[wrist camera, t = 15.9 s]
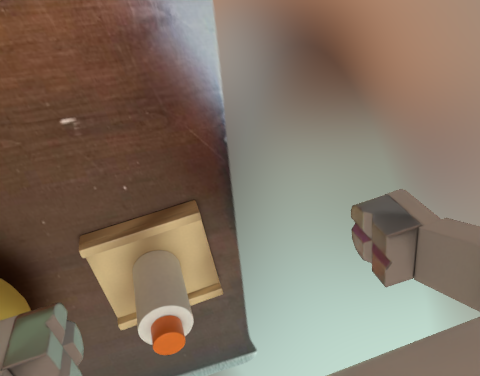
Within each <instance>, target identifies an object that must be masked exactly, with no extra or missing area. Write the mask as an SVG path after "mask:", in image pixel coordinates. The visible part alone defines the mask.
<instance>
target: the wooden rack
mask: <svg viewBox="0 0 480 376" xmlns="http://www.w3.org/2000/svg"><path fill="white" fill-rule="evenodd" d="M157 250H163V251H168V252H170V253H172V254H174V255H175V256H176V257H177V258H178V260H179V263H180V267H181V271H182V275H183V279H184V283H185V287H186V291H187V295H188V299H189V303H190V306H191V305H194V304H197V303H199V302H202V301H205V300H208V299H211V298H213V297H216V296H219V295H222V294H223V291H222V288H221V285H220V282H219V279H218V275H217V272H216V268H215V265H214V261H213V258H212V255H211V251H210V248H209V244H208V241H207V237H206V234H205V230H204V227H203V224H202V220H201V215H200V212H199V209H198V207H197V204H196V201H195V200H193V201H189V202H186V203H183V204H180V205H177V206H174V207H170V208H167V209H164V210H161V211H158V212H155V213H151V214H148V215H145V216H142V217H139V218H136V219H132V220H129V221H126V222H123V223H120V224H117V225H113V226H110V227H107V228H104V229H101V230H98V231H94V232H91V233H88V234H85V235H82V236H80V240H79V253H80V255H81V257H82V258H86V259H87V261H88V263H89V265H90V267H91V268H92V270H93V272H94V274H95V276H96V278H97V280H98V282H99V284H100V286H101V287H102V289H103V291H104V293H105V295H106V297H107V299H108V301H109V303H110V304H111V306H112V308H113V310H114V312H115V314H116V316H117V318H118V326H119V328H120V329H121V330H124V329H127V328H130V327H132V326H135V325H137V315H136V304H135V294H134V283H133V266H134V264H135V262H136V261H137V260H138V259H139V258H140V257H141V256H142V255H144V254H146V253H148V252H151V251H157Z"/></svg>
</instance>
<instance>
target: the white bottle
mask: <svg viewBox="0 0 480 376" xmlns="http://www.w3.org/2000/svg"><path fill="white" fill-rule="evenodd" d="M133 283H134V294H135V304H136V315H137V326H138V333H139V336H140V337H141V339H142V340H144V341H145V342H147V343H149V344H152V345H153V349H154V351H155V352H156V353H158V354H161V355H170V354H174V353H176V352H178V351H179V350H181V349H182V348H183V346H184V344H185V336H186V335H187V334H188V333H189V332H190V330H191V328H192V326H193V321H194V320H193V315H192V311H191V307H190V303H189V299H188V295H187V291H186V287H185V283H184V279H183V275H182V271H181V267H180V263H179V260H178V258H177V257H176V256H175V255H174V254H172V253H170V252H168V251H163V250H157V251H151V252H148V253H146V254H144V255H142V256H141V257H140V258H139V259H138V260H137V261H136V262H135V264H134V266H133Z"/></svg>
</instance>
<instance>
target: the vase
mask: <svg viewBox="0 0 480 376" xmlns="http://www.w3.org/2000/svg"><path fill="white" fill-rule="evenodd" d="M28 311H31V309H30V307H29V306H28V304H27V302H26V300H25V298H24V297H23V296H22V295H21V294H20V293H19V292H18V291H17V290H16V289H15V288H14V287H13V286H11V285H10V284H9V283H7V282H6V281H4V280H3V279H1V278H0V320H3V319H7V318H10V317H13V316H17V315H19V314H22V313H25V312H28Z"/></svg>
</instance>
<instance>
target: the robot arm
mask: <svg viewBox="0 0 480 376" xmlns="http://www.w3.org/2000/svg"><path fill="white" fill-rule="evenodd" d="M351 218H352V219H353V220H354V221H355V222H356V223H355V225H354V227H353V228H352V239H353V242H354V246H355V248H356V250H357V252H358V254H359V255H360V256H361V258H362V259H363V260H365V261H367V262H370V263H372V271H373V272H374V274H375V275H376V276H377V277H378V279H379V280H380V281H381V282H382V284H383V285H384V286H385V287H388V286H391V285H394V284H397V283H400V282H403V281H406V280H409V279H413V278H414V279H415V280H416V281H418V282H420V283H422V284H424V285H426V286H428V287H431V288H433V289H435V290H437V291H439V292H441V293H443V294H445V295H447V296H449V297H451V298H453V299H455V300H457V301H459V302H461V303H463V304H465V305H467V306H469V307H471V308H473V309H475V310H478V311H479V312H480V227H479V226H476V225H472V224H468V223H464V222H460V221H457V220H453V219H449V218H444V219H440V218H439V217H438V216H437V215H435V214H434V213H433V212H431V210H429V209H428V208H426V206H424V205H423V204H422V203H421V202H419V201H418V200H417V199H416V198H414V197H413V196H412V195H411V194H410V193H408V192H407V191H406V190H403V189H399V190H396V191H393V192H391V193H388V194H385V195H383V196H380V197H377V198H374V199H371V200H368V201H365V202H362V203H359V204H356V205H353V206H352V209H351ZM67 313H68V311H67V310H66V308H65V307H64V306H63V304H62V303H55V304H51V305H48V306H45V307H41V308H38V309H35V310H32V311H28V312H25V313H22V314H19V315H17V316H13V317H10V318H7V319H3V320H0V376H82V373H81V371H80V370H79V368H78V367H77V366H78V365H79V363H80V362H81V360H82V359H83V351H84V347H83V341H82V336H81V333H80V331H79V328H78V327H77V325H76V324H75V322H72V321H69V320H67ZM327 376H480V317H478V318H475V319H473V320H470V321H467V322H465V323H462V324H460V325H457V326H455V327H452V328H449V329H447V330H444V331H441V332H439V333H436V334H434V335H431V336H428V337H426V338H423V339H421V340H418V341H415V342H413V343H410V344H408V345H405V346H403V347H400V348H397V349H395V350H392V351H389V352H387V353H384V354H382V355H379V356H377V357H374V358H371V359H369V360H366V361H363V362H361V363H358V364H356V365H353V366H351V367H348V368H345V369H343V370H340V371H338V372H335V373H332V374H330V375H327Z"/></svg>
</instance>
